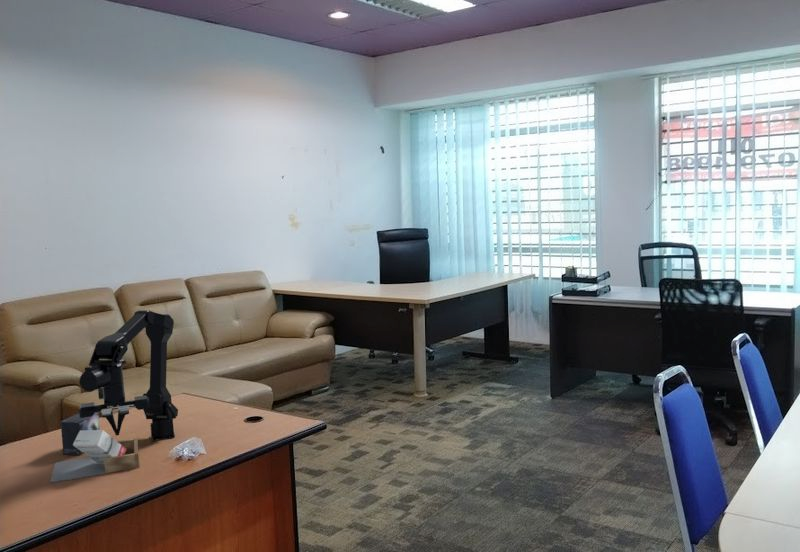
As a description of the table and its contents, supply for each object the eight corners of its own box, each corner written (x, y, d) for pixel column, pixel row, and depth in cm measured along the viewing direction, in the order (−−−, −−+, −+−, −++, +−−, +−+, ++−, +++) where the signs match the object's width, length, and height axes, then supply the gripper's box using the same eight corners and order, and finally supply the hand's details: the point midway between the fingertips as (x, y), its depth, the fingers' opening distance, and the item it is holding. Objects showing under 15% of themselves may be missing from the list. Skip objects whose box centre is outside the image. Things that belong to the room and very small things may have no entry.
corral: (138, 450, 217) (137, 438, 217) (139, 467, 203) (138, 453, 203) (106, 456, 214) (105, 443, 214) (105, 473, 200) (104, 459, 200)
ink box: (127, 448, 207) (103, 429, 199) (121, 464, 204) (96, 445, 196) (103, 448, 210) (78, 429, 202) (96, 464, 207) (71, 445, 199)
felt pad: (106, 455, 215) (106, 454, 215) (105, 473, 200) (105, 472, 200) (55, 463, 210) (55, 462, 210) (50, 483, 195) (50, 482, 195)
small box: (81, 455, 216) (77, 422, 214) (62, 455, 217) (58, 421, 216) (102, 443, 226) (99, 411, 225) (84, 443, 227) (81, 411, 226)
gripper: (145, 372, 217) (150, 422, 218) (78, 380, 210) (83, 432, 212) (147, 380, 206) (151, 432, 208) (77, 389, 200) (82, 443, 201)
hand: (117, 435), depth 207 cm, fingers closed
